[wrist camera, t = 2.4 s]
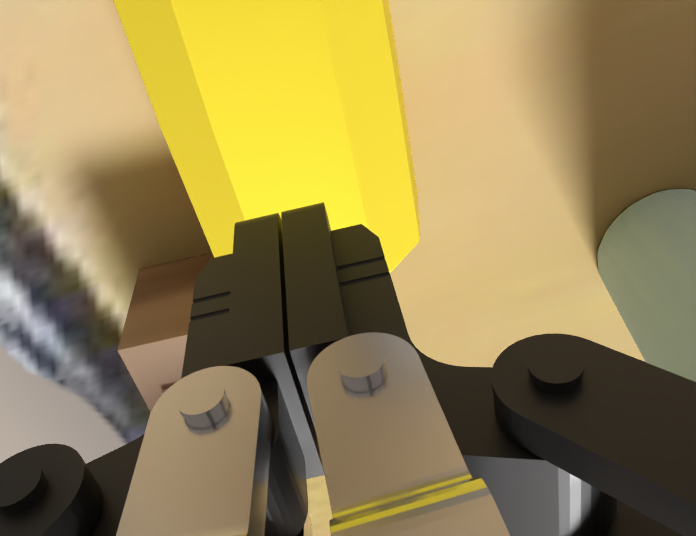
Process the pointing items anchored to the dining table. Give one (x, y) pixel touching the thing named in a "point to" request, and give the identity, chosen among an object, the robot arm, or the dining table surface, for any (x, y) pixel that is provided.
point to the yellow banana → (281, 111)
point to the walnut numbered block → (159, 325)
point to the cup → (656, 277)
